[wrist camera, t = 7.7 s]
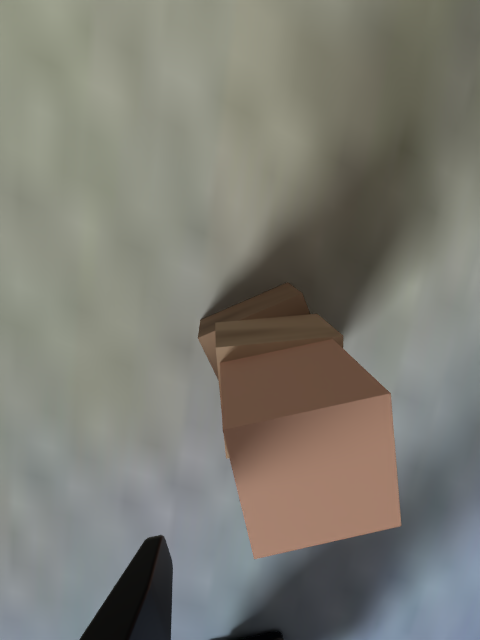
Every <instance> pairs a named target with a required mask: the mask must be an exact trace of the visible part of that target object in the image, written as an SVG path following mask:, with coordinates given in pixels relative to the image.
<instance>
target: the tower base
mask: <svg viewBox="0 0 480 640" xmlns="http://www.w3.org/2000/svg"><path fill="white" fill-rule="evenodd" d="M308 314H310V312H309V310H308V307H307V304H306V302H305V299H304V296H303V294H302V293H301V292H300V291H299V290H297V289H296V288H295V287H293V286H292V285H291V284H289V283H288V282H287V283H285V284H283V285H280V286H278V287H276V288H273V289H271V290H269V291H266V292H264V293H262V294H259V295H257V296H255V297H253V298H250V299H248V300H246V301H243V302H241V303H239V304H236V305H234V306H232V307H229V308H227V309H225V310H222V311H220V312H218V313H215V314H213V315H211V316H208V317H206V318H204V319H201V320H200V327H199V334H198V339H199V341H200V343H201V345H202V347H203V349H204V352H205V354H206V356H207V358H208V360H209V362H210V364H211V366H212V368H213V370H214V372H215V374H216V376H217V378H218V367H217V357H216V339H215V323H217V322H228V321H240V320H251V319H262V318H274V317H285V316H296V315H308ZM218 380H219V378H218Z"/></svg>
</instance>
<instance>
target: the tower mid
mask: <svg viewBox="0 0 480 640" xmlns="http://www.w3.org/2000/svg"><path fill="white" fill-rule="evenodd" d="M215 339H216V357H217V367H218V378H219V388H220V399H221V378H220V363H222V362H227V361H231V360H236V359H241V358H245V357H250V356H255V355H259V354H264V353H269V352H273V351H278V350H283V349H287V348H292V347H297V346H302V345H306V344H311V343H316V342H320V341H325V340H330V339H333V340H334V341H335V342H336V343H337V344H339V345H340V346H341V347H342V348H343V335H342V334H340V333H339V332H338V331H337V330H336V329H335V328H333V327H332V326H331V325H330V324H329V323H327V322H326V321H325V320H324V319H323V318H322V317H320V316H319V315H318V314H308V315H296V316H285V317H274V318H262V319H251V320H240V321H228V322H217V323H215ZM221 409H222V400H221ZM224 440H225V437H224ZM225 451H226V458H230V457H229V453H228V449H227V445H226V441H225Z"/></svg>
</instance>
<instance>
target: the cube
mask: <svg viewBox="0 0 480 640" xmlns="http://www.w3.org/2000/svg"><path fill="white" fill-rule="evenodd" d="M220 378H221V400H222V423H223V433H224V437H225V441H226V445H227V449H228V453H229V457H230V461H231V465H232V470H233V474H234V478H235V482H236V486H237V490H238V494H239V498H240V502H241V507H242V511H243V515H244V519H245V523H246V527H247V531H248V535H249V539H250V543H251V548H252V552H253V556H254V559H257V558H262V557H266V556H271V555H275V554H280V553H284V552H288V551H293V550H297V549H302V548H306V547H311V546H315V545H319V544H324V543H328V542H333V541H337V540H342V539H346V538H351V537H355V536H359V535H364V534H368V533H373V532H377V531H382V530H386V529H390V528H395V527H399V526H401V516H400V504H399V491H398V479H397V466H396V454H395V442H394V429H393V417H392V404H391V393H390V392H389V391H388V390H387V389H385V388H384V387H383V386H382V385H381V384H380V383H379V382H378V381H377V380H376V379H375V378H374V377H373V376H372V375H371V374H369V373H368V372H367V371H366V370H365V369H364V368H363V367H362V366H361V365H360V364H359V363H358V362H357V361H356V360H355V359H353V358H352V357H351V356H350V355H349V354H348V353H347V352H346V351H345V350H344V349H343V348H342V347H341V346H340V345H339V344H337V343H336V342H335V341H334V340H333V339H330V340H325V341H320V342H316V343H311V344H306V345H302V346H297V347H292V348H287V349H283V350H278V351H273V352H269V353H264V354H259V355H255V356H250V357H245V358H241V359H236V360H231V361H227V362H222V363H220Z"/></svg>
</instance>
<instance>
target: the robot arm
mask: <svg viewBox="0 0 480 640" xmlns="http://www.w3.org/2000/svg"><path fill="white" fill-rule="evenodd" d="M172 579H173V565H172V559H171V556H170V553H169V549H168V546H167V543H166V540H165V538H164V536H162V535H159V536H154V537H149V538H147V539H146V540H145V541H144V542H143V544H142V545H141V547H140V548H139V550H138V552H137V553H136V555H135V556H134V558H133V559H132V561H131V562H130V564H129V565H128V567H127V568H126V570H125V571H124V573H123V574H122V576H121V577H120V579H119V580H118V582H117V583H116V585H115V586H114V588H113V589H112V591H111V592H110V594H109V596H108V597H107V599H106V600H105V602H104V603H103V605H102V606H101V608H100V609H99V611H98V612H97V614H96V615H95V617H94V618H93V620H92V621H91V623H90V624H89V626H88V627H87V629H86V630H85V632H84V633H83V635H82V636H81V638H80V640H171V614H172ZM239 640H284V639H283V634H282V633H281V632H272V633H267V634H262V635H258V636H253V637H249V638H244V639H239Z"/></svg>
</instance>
